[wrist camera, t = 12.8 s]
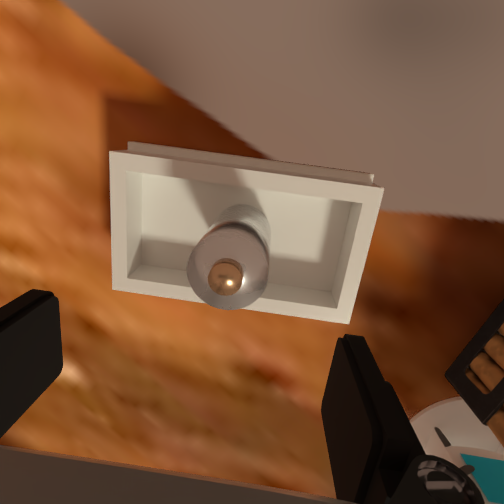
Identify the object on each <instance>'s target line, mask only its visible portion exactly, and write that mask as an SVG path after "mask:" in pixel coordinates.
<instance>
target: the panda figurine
mask: <svg viewBox="0 0 504 504" xmlns="http://www.w3.org/2000/svg"><path fill="white" fill-rule="evenodd" d="M410 423H411V425H412V427H413V429H414V431H415V433H416V435H417V437H418V439H419V441H420V443H421V445H422V447H423V449H424V451H425V453H426V455H434V456H437V457H440V458H443V459H445V460H447V461H449V462H451V463H453V464H454V465H456V466H457V467H458V468H460V469H461V470H462V471H464V472H465V473H466V474H467V475H468V476H469V477H470V478H471V479H472V480H473V482H474V483H475V484H476V486H477V487H478V489H479V490H480V492H481V494H482V497H483V499H484V502H485V504H504V447H503V446H502V444H501V443H500V442H499V440H498V439H497V438H496V436H495V435H494V434H493V432H492V431H491V429H490V428H489V427H488V426H485V425H483V424H482V423H481V422H480V420H479V419H478V418H477V417H476V415H475V414H474V413H473V411H472V410H471V409H470V408H469V406H468V405H467V404H466V403H465V401H464V400H463V399H462V397H461V396H459V397H453V398H449V399H445V400H442V401H439V402H437V403H434V404H432V405H430V406H428V407H426V408H425V409H423V410H421V411H420V412H419V413H417V414H416V415H415V416H414V417H412V418H411V419H410Z"/></svg>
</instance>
